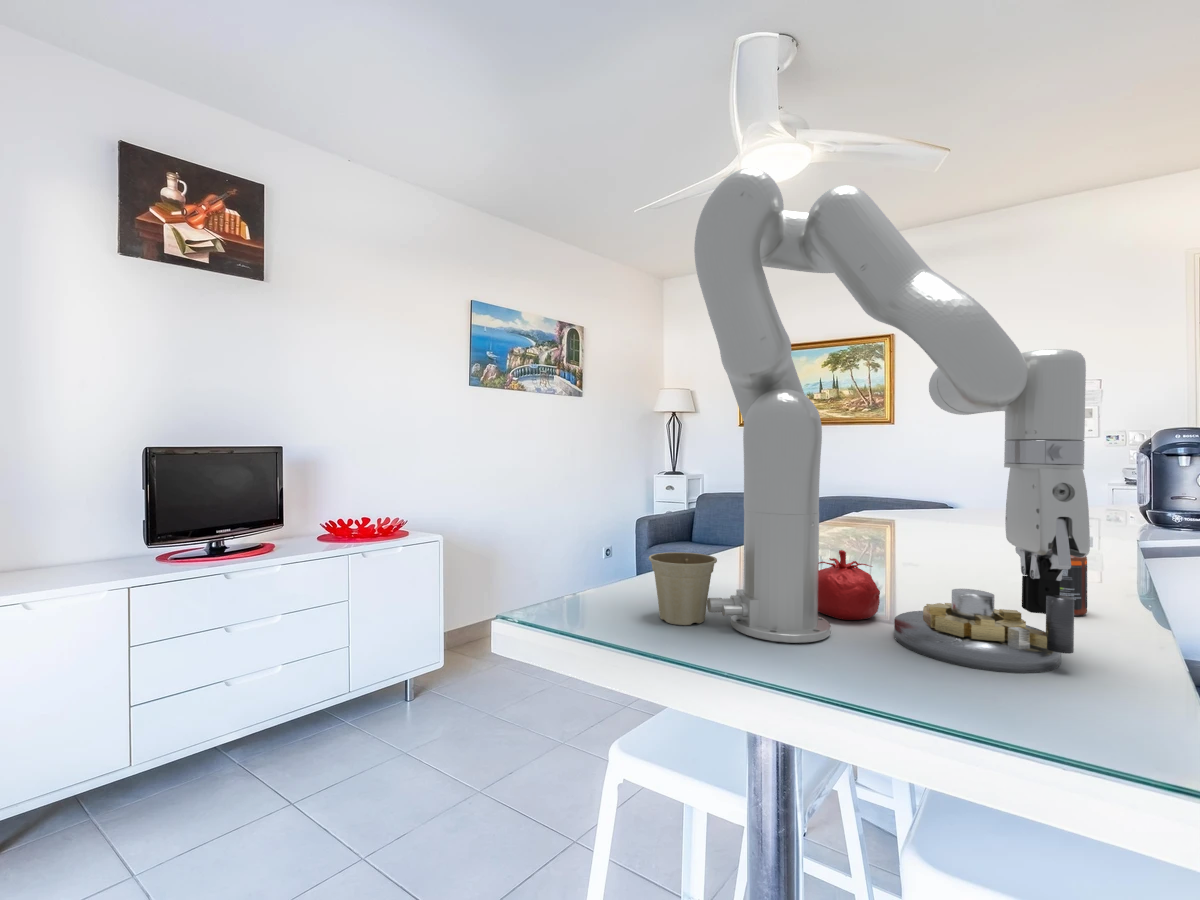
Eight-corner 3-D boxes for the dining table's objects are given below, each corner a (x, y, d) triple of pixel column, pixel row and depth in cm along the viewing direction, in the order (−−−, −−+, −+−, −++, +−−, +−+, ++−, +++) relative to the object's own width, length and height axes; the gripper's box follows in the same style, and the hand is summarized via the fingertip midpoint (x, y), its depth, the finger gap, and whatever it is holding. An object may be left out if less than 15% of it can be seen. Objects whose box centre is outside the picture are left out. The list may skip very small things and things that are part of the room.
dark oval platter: (954, 674, 62) (955, 613, 62) (867, 626, 79) (868, 578, 79) (1102, 671, 63) (1102, 611, 63) (985, 624, 80) (985, 576, 80)
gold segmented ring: (908, 622, 73) (908, 576, 73) (953, 611, 78) (954, 569, 78) (1050, 661, 60) (1050, 605, 60) (1093, 645, 65) (1094, 594, 65)
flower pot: (643, 610, 86) (643, 551, 85) (706, 609, 86) (706, 551, 86) (654, 630, 76) (655, 564, 76) (725, 629, 77) (725, 563, 77)
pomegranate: (833, 627, 78) (834, 558, 78) (794, 607, 88) (794, 546, 88) (897, 623, 80) (898, 556, 80) (852, 604, 90) (853, 544, 90)
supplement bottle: (1068, 606, 90) (1069, 533, 90) (1097, 618, 84) (1098, 539, 84) (1027, 605, 91) (1028, 532, 91) (1053, 616, 85) (1054, 538, 85)
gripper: (1119, 457, 61) (1116, 634, 61) (1048, 456, 75) (1045, 598, 75) (1036, 456, 63) (1033, 627, 63) (982, 455, 77) (980, 594, 77)
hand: (1040, 611), depth 69 cm, fingers closed
